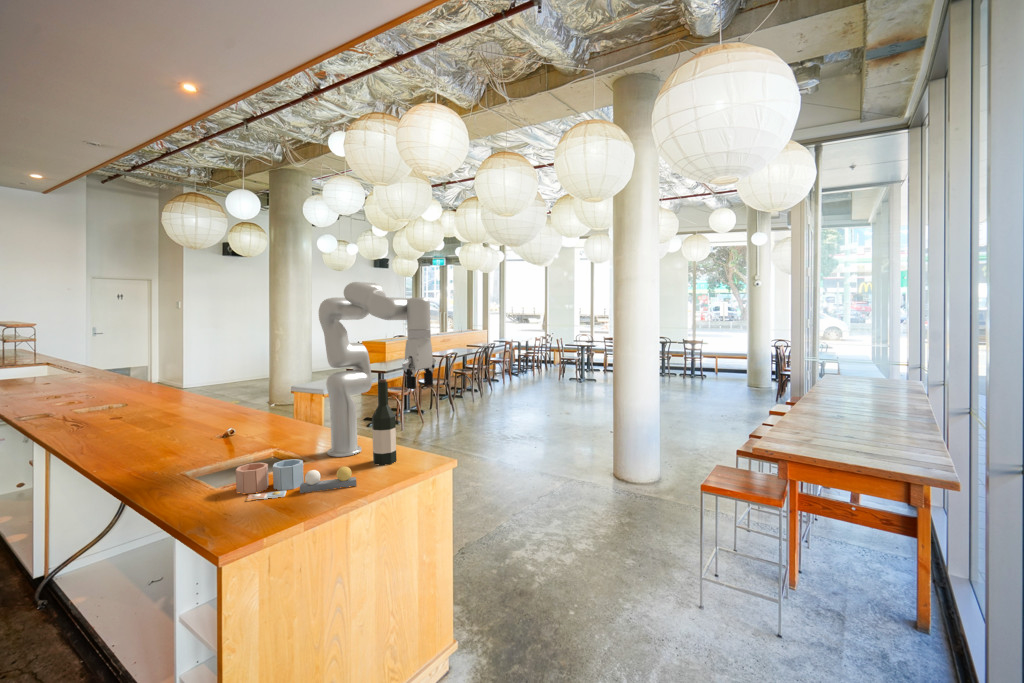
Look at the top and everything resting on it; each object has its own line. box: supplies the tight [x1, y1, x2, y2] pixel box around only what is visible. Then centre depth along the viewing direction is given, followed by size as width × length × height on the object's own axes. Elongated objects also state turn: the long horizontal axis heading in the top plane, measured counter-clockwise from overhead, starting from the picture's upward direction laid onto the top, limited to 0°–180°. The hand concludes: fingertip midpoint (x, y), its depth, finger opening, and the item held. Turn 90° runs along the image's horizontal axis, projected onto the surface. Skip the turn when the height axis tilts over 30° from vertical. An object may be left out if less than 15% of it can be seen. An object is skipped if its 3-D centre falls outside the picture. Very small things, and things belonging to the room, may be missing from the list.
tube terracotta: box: [235, 462, 270, 494], centre depth 142 cm, size 8×8×7 cm
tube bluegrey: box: [272, 458, 305, 491], centre depth 146 cm, size 8×8×7 cm
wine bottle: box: [371, 378, 397, 466], centre depth 168 cm, size 8×8×30 cm
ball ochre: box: [336, 466, 352, 481], centre depth 144 cm, size 4×4×4 cm
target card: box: [246, 490, 287, 500], centre depth 137 cm, size 4×10×1 cm, turn 109°
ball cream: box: [304, 469, 321, 485], centre depth 141 cm, size 4×4×4 cm
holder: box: [299, 476, 357, 494], centre depth 143 cm, size 3×16×2 cm, turn 109°
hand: (420, 386), depth 155 cm, fingers open, 9 cm apart
